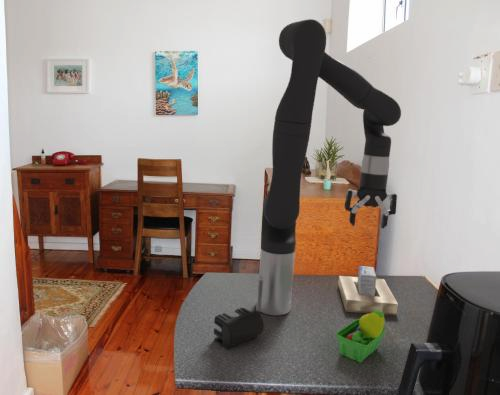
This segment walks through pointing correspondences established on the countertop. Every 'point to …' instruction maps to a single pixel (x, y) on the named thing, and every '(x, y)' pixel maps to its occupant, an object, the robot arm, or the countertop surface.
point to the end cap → (238, 327)
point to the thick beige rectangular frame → (367, 297)
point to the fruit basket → (362, 336)
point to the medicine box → (366, 281)
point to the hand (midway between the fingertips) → (367, 226)
